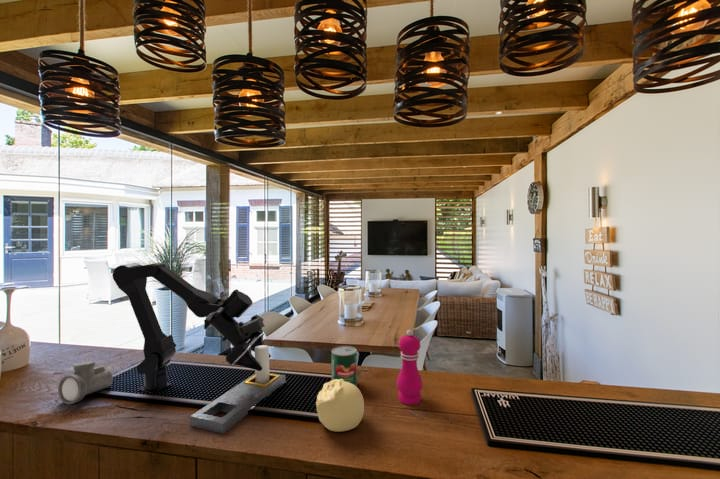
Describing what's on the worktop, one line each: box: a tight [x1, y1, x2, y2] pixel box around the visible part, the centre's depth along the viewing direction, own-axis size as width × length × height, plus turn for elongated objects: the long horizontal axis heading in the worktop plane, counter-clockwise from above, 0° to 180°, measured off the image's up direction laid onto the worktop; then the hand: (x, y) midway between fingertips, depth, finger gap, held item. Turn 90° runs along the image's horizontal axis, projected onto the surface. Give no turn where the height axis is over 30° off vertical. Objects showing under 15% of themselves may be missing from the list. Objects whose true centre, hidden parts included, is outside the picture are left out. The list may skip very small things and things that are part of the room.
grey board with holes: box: [189, 372, 287, 434], centre depth 98 cm, size 28×10×3 cm, turn 161°
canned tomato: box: [331, 345, 358, 387], centre depth 108 cm, size 8×8×11 cm
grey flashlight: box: [57, 360, 114, 406], centre depth 103 cm, size 12×8×10 cm
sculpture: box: [315, 379, 365, 433], centre depth 87 cm, size 11×12×11 cm
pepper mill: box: [396, 329, 423, 406], centre depth 98 cm, size 7×7×20 cm
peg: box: [254, 344, 270, 384], centre depth 106 cm, size 4×4×12 cm
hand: (265, 363), depth 106 cm, fingers open, 9 cm apart
